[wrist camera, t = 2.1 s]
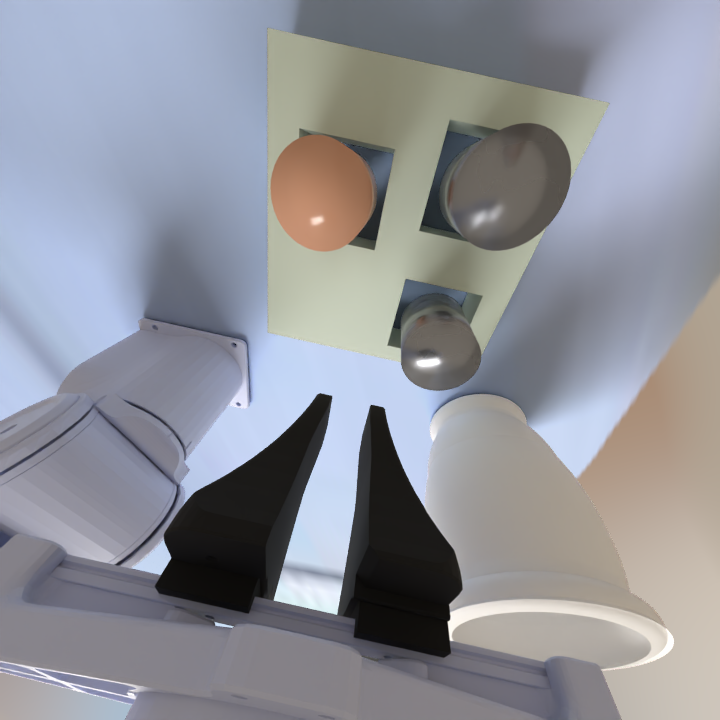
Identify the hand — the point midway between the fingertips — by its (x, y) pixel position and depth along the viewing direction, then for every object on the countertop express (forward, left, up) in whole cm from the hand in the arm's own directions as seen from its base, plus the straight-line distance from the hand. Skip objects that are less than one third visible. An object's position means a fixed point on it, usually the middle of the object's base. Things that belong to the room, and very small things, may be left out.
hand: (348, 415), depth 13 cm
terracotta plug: (-3, +9, -7) cm, 12 cm away
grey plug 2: (+4, +10, -7) cm, 13 cm away
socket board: (0, +7, -10) cm, 12 cm away
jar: (+12, -8, -11) cm, 18 cm away
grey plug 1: (+4, +2, -7) cm, 9 cm away
